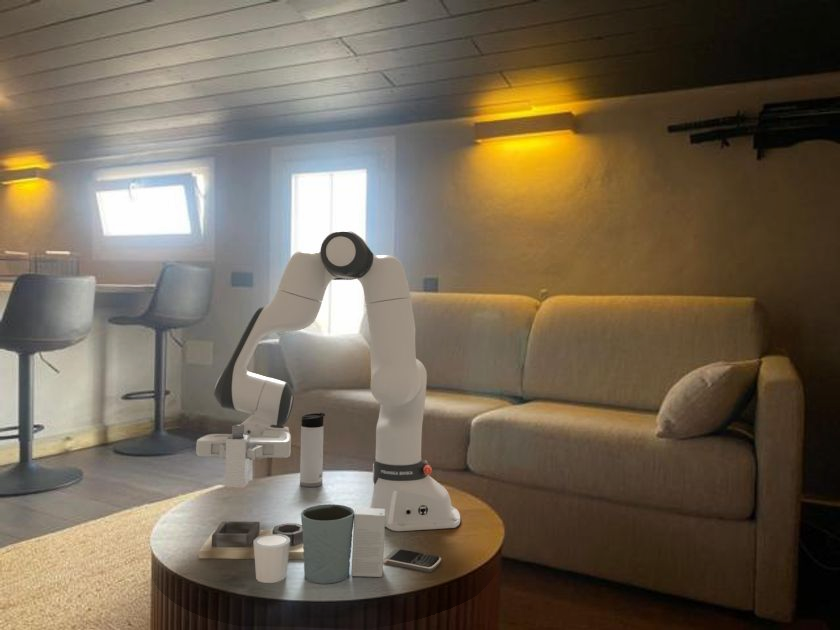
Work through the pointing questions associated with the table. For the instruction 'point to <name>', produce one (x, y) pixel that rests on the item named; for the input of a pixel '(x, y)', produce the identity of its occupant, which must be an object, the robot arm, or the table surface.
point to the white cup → (271, 557)
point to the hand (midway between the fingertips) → (236, 454)
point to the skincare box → (368, 542)
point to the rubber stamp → (237, 458)
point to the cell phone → (412, 560)
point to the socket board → (248, 540)
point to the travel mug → (311, 450)
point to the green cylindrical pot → (327, 542)
